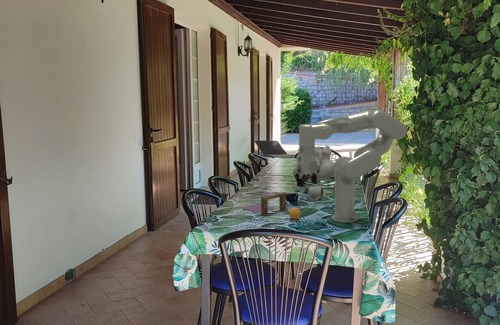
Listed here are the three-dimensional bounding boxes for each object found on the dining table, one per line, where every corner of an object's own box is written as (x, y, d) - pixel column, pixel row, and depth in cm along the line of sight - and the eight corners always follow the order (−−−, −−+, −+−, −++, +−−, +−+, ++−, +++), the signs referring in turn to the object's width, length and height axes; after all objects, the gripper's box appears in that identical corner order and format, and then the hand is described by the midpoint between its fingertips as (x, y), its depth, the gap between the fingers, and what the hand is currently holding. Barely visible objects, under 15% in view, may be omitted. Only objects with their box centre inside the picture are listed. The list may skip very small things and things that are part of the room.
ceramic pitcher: (337, 183, 317) (340, 148, 314) (309, 181, 318) (312, 147, 314) (332, 178, 339) (334, 145, 335) (306, 176, 339) (308, 143, 335)
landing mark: (273, 208, 248) (273, 208, 248) (255, 212, 240) (255, 212, 240) (258, 204, 258) (258, 203, 258) (240, 208, 250) (240, 207, 250)
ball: (303, 219, 226) (303, 207, 225) (294, 221, 222) (294, 209, 221) (294, 217, 230) (294, 205, 229) (286, 219, 227) (286, 207, 226)
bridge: (286, 211, 242) (285, 193, 240) (264, 216, 233) (264, 198, 231) (282, 210, 244) (282, 192, 243) (261, 215, 235) (260, 197, 234)
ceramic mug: (310, 196, 274) (310, 184, 273) (323, 197, 271) (323, 185, 270) (306, 201, 264) (306, 188, 263) (320, 202, 262) (320, 189, 260)
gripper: (298, 152, 207) (298, 188, 210) (325, 149, 217) (325, 183, 220) (288, 151, 213) (288, 186, 216) (314, 147, 223) (314, 181, 226)
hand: (306, 184), depth 218 cm, fingers open, 9 cm apart
